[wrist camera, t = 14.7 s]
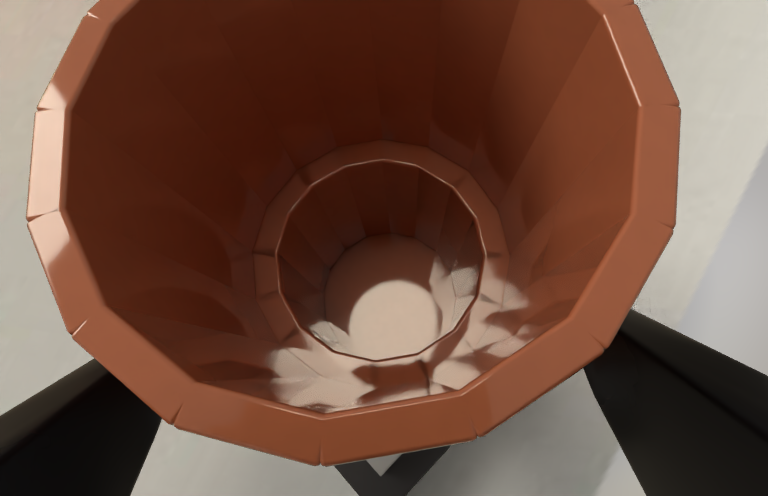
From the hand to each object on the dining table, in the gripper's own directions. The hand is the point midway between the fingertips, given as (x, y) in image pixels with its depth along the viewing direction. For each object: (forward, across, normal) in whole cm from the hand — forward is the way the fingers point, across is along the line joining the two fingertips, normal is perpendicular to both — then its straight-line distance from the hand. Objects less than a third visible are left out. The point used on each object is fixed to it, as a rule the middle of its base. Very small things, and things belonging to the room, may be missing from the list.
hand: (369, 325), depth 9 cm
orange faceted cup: (+7, 0, +4) cm, 8 cm away
